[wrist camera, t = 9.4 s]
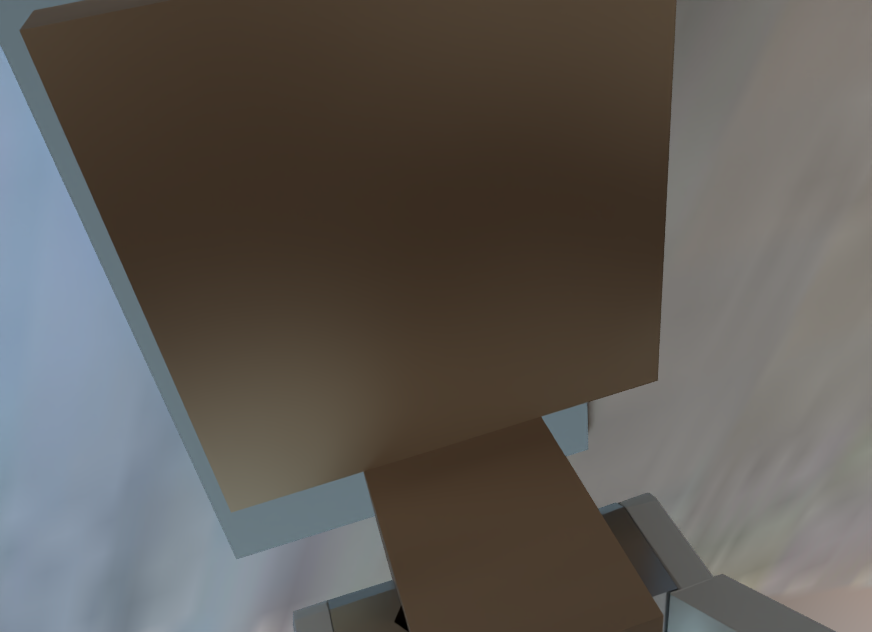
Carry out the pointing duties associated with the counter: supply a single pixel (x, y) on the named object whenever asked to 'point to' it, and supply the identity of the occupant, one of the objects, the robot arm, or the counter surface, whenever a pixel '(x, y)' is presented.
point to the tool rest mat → (247, 528)
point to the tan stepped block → (393, 260)
